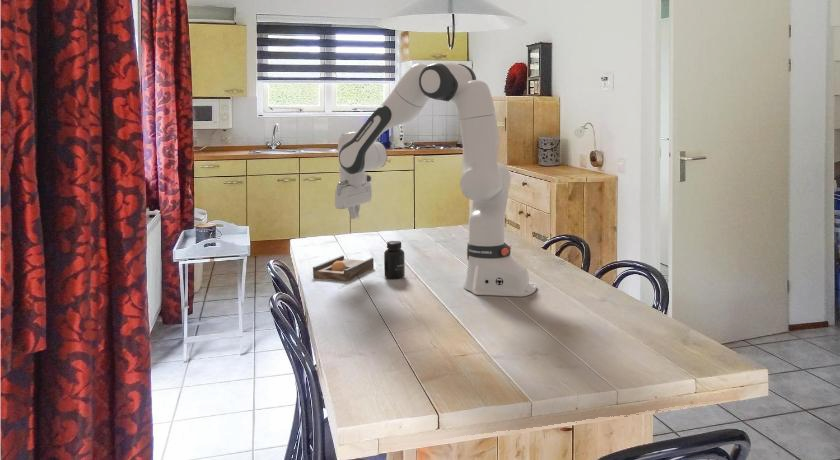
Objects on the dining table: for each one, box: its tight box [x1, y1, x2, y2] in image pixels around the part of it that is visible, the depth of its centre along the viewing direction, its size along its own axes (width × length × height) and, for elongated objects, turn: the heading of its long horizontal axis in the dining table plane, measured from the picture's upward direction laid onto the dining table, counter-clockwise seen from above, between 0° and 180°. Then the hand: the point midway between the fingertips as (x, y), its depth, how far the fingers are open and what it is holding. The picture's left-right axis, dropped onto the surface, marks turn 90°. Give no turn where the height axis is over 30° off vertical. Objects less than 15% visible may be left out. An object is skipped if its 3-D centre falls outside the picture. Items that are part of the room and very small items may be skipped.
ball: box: [331, 261, 346, 272], centre depth 229 cm, size 5×5×5 cm
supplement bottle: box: [383, 240, 406, 280], centre depth 225 cm, size 7×7×12 cm
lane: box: [312, 255, 375, 282], centre depth 232 cm, size 13×19×4 cm
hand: (354, 218), depth 236 cm, fingers closed
